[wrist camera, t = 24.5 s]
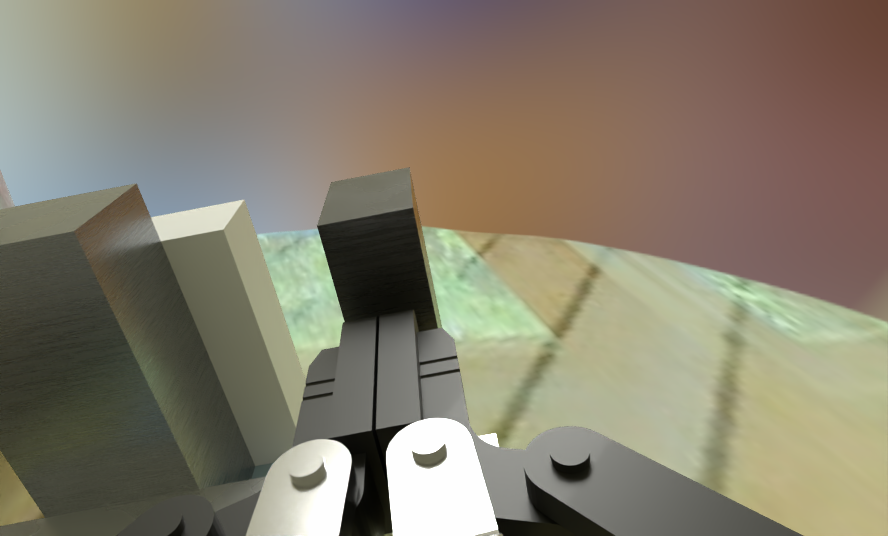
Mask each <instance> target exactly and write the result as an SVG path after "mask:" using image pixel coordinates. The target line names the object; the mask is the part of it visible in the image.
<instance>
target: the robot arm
mask: <svg viewBox="0 0 888 536" xmlns="http://www.w3.org/2000/svg"><path fill="white" fill-rule="evenodd" d="M305 384H306V387H305V388H304V393H303V397H302V398H303V401H302V402H301V407H300V412H299V416H298V421H297V426H296V430H295V435H294V440H293V445H292V448H291V449H290V450H288V451H287V452H285V453H284V454H282V455H281V456H280V457H279V458H278V459H277V460H276V461H275V462H274V463H273V465H272V466H271V468H270V469H269V471H268V473H267V475H266V478H265V481H264V484H263V487H262V490H260V491H258V492H257V493H255V494H253V495H251V496H249V497H247V498H245V499H243V500H240V501H238V502H236V503H234V504H231V505H229V506H227V507H225V508H222V509H220V510H218V511H214V509H213V506H212V505H211V503H210V502H209V501H208V500H207V499H206V498H204V497H201V496H198V495H181V496H177V497H173V498H170V499H167V500H165V501H163V502H161V503H159V504H157V505H155V506H153V507H152V508H150V509H148V510H147V511H146V512H144V513H143V514H142V515H140V516H139V517H138V518H137V519H136V520H134V521H133V522H132V523H131V524H130V525H128V526H127V527H126V528H125V529H124V530H122V531H121V532H120V533H119V534H117V535H116V536H384V534H389V533H393V535H394V536H803V535H801V534H799V533H797V532H795V531H793V530H791V529H789V528H787V527H785V526H783V525H781V524H779V523H777V522H775V521H773V520H771V519H769V518H767V517H765V516H763V515H761V514H759V513H757V512H755V511H753V510H751V509H749V508H747V507H745V506H743V505H741V504H739V503H737V502H735V501H733V500H731V499H729V498H727V497H725V496H723V495H721V494H719V493H717V492H715V491H713V490H711V489H709V488H707V487H705V486H703V485H701V484H699V483H697V482H695V481H693V480H691V479H689V478H687V477H685V476H683V475H681V474H679V473H677V472H675V471H673V470H671V469H669V468H667V467H665V466H663V465H661V464H659V463H657V462H655V461H653V460H651V459H649V458H647V457H645V456H643V455H641V454H639V453H637V452H635V451H633V450H631V449H629V448H627V447H625V446H623V445H621V444H619V443H617V442H615V441H613V440H611V439H609V438H607V437H605V436H603V435H601V434H599V433H597V432H595V431H593V430H590V429H587V428H583V427H576V426H565V427H557V428H553V429H550V430H547V431H545V432H543V433H541V434H539V435H538V436H536V437H535V438H534V439H533V440H532V441H531V442H530V443H529V444H528V446H527V448H526V450H521V449H509V448H502V447H498V446H494V445H492V444H489V443H487V442H486V441H484V440H482V439H481V438H480V437H478V436H477V435H476V434H475V433H474V431H473V430H472V428H471V426H470V423H469V418H468V412H467V407H466V401H465V396H464V390H463V385H462V379H461V374H460V369H459V363H458V358H457V352H456V347H455V342H454V339H453V338H452V337H451V336H450V335H449V334H448V333H447V332H446V331H445V330H444V329H443V328H438V329H432V330H427V331H422V332H419V329H418V324H417V320H416V315H415V312H414V309H412V310H407V311H402V312H396V313H391V314H385V315H380V317H378V316H375V317H370V318H364V319H359V320H353V321H348V322H344V323H343V325H342V332H341V339H340V346H339V347H335V348H330V349H324V350H322V351H321V352H320V353H319V354H318V356H317V357H316V358H315V360H314V361H313V362H312V363H311V365H310V366H309V369H308V374H307V378H306V383H305Z"/></svg>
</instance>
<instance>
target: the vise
mask: <svg viewBox="0 0 888 536" xmlns="http://www.w3.org/2000/svg"><path fill="white" fill-rule="evenodd" d="M151 219H152V221H153V224H154V226H155V229H156V231H157V233H158V236H159V238H160V241H161V243H162V245H163V248H164V250H165V252H166V255H167V257H168V260H169V262H170V264H171V267H172V269H173V271H174V274H175V276H176V279H177V281H178V283H179V286H180V288H181V291H182V293H183V295H184V298H185V300H186V302H187V305H188V307H189V310H190V312H191V314H192V317H193V319H194V322H195V324H196V326H197V329H198V331H199V333H200V336H201V338H202V341H203V343H204V345H205V348H206V350H207V352H208V355H209V357H210V360H211V362H212V364H213V367H214V369H215V372H216V374H217V376H218V379H219V381H220V383H221V386H222V388H223V391H224V393H225V395H226V398H227V400H228V402H229V405H230V407H231V410H232V412H233V414H234V417H235V419H236V422H237V424H238V426H239V429H240V431H241V433H242V436H243V438H244V441H245V443H246V445H247V448H248V450H249V453H250V455H251V457H252V460H253V462H254V464H255V469H254V472H253V476H252V479H255V478H260V477H265V476H266V475H267V473H268V471H269V469H270V468H271V466H272V465H273V463H274V462H275V461H276V460H277V459H278V458H279V457H280V456H281V455H282V454H284V453H285V452H287V451H288V450H290V449H291V448H292V445H293V440H294V435H295V430H296V426H297V421H298V416H299V412H300V407H301V402H302V401H303V398H302V397H303V393H304V388H305V387H306V384H305V383H306V380H305V377H304V374H303V371H302V368H301V365H300V362H299V359H298V356H297V353H296V350H295V347H294V344H293V341H292V338H291V335H290V333H289V330H288V327H287V324H286V321H285V318H284V315H283V312H282V309H281V306H280V303H279V300H278V297H277V294H276V291H275V288H274V285H273V282H272V280H271V277H270V274H269V271H268V268H267V265H266V262H265V259H264V256H263V253H262V250H261V247H260V244H259V241H258V238H257V235H256V232H255V230H254V227H253V224H252V221H251V218H250V215H249V212H248V209H247V206H246V203H245V200H240V201H235V202H230V203H225V204H220V205H214V206H209V207H204V208H198V209H193V210H188V211H182V212H177V213H172V214H167V215H161V216H156V217H151Z"/></svg>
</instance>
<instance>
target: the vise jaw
mask: <svg viewBox="0 0 888 536" xmlns="http://www.w3.org/2000/svg"><path fill="white" fill-rule="evenodd" d="M317 227H318V231H319V234H320V238H321V241H322V244H323V248H324V251H325V255H326V258H327V262H328V265H329V269H330V272H331V276H332V279H333V283H334V286H335V290H336V293H337V297H338V300H339V304H340V307H341V311H342V314H343V317H344V321H345V322H348V321H353V320H359V319H364V318H370V317H375V316H378V317H380V315H385V314H391V313H396V312H402V311H407V310H412V309H414V312H415V315H416V320H417V324H418V329H419V332H422V331H427V330H432V329H438V328H442V325H441V320H440V315H439V310H438V305H437V300H436V295H435V291H434V286H433V281H432V276H431V271H430V266H429V261H428V256H427V251H426V246H425V241H424V236H423V231H422V226H421V222H420V217H419V212H418V207H417V202H416V197H415V192H414V188H413V182H412V178H411V172H410V168H404V169H399V170H393V171H388V172H383V173H377V174H372V175H367V176H362V177H357V178H351V179H346V180H341V181H335V182H331V184H330V188H329V191H328V194H327V197H326V200H325V203H324V206H323V210H322V212H321V216H320V219H319V222H318V225H317ZM478 437H480V438H481V439H482V440H484V441H486V442H487V443H489V444H492V445H494V446H498V442H497V437H496V433H494V434H489V435H484V436H478ZM498 447H499V446H498ZM265 478H266V476H265V477H260V478H255V479H249V480H244V481H239V482H233V483H228V484H223V485H217V486H212V487H207V488H201V489H196V490H191V491H185V492H180V493H175V494H169V495H164V496H159V497H153V498H148V499H143V500H137V501H132V502H127V503H121V504H116V505H111V506H105V507H100V508H95V509H89V510H84V511H79V512H73V513H68V514H63V515H58V516H52V517H47V518H42V519H36V520H31V521H26V522H20V523H15V524H10V525H4V526H0V536H116V535H117V534H119V533H120V532H121V531H122V530H124V529H125V528H126V527H127V526H128V525H130V524H131V523H132V522H133V521H134V520H136V519H137V518H138V517H139V516H140V515H142V514H143V513H144V512H146V511H147V510H148V509H150V508H152V507H153V506H155V505H157V504H159V503H161V502H163V501H165V500H167V499H170V498H173V497H177V496H181V495H198V496H201V497H204V498H206V499H207V500H208V501H209V502H210V503H211V505H212V506H213V509H214V511H218V510H220V509H222V508H225V507H227V506H229V505H231V504H234V503H236V502H238V501H240V500H243V499H245V498H247V497H249V496H251V495H253V494H255V493H257V492H258V491H260V490H262V487H263V484H264V481H265ZM384 536H394V535H393V533H389V534H384Z"/></svg>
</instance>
